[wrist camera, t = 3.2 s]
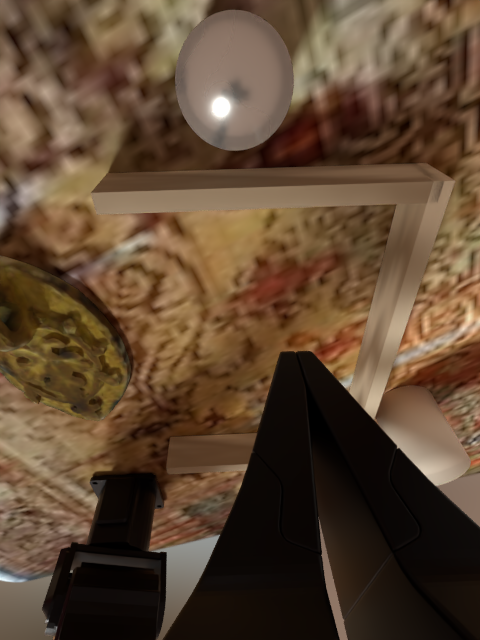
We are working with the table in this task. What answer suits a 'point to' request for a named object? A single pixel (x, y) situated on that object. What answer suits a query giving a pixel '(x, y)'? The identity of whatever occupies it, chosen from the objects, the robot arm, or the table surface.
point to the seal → (58, 344)
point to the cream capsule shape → (422, 433)
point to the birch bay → (294, 192)
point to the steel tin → (234, 80)
